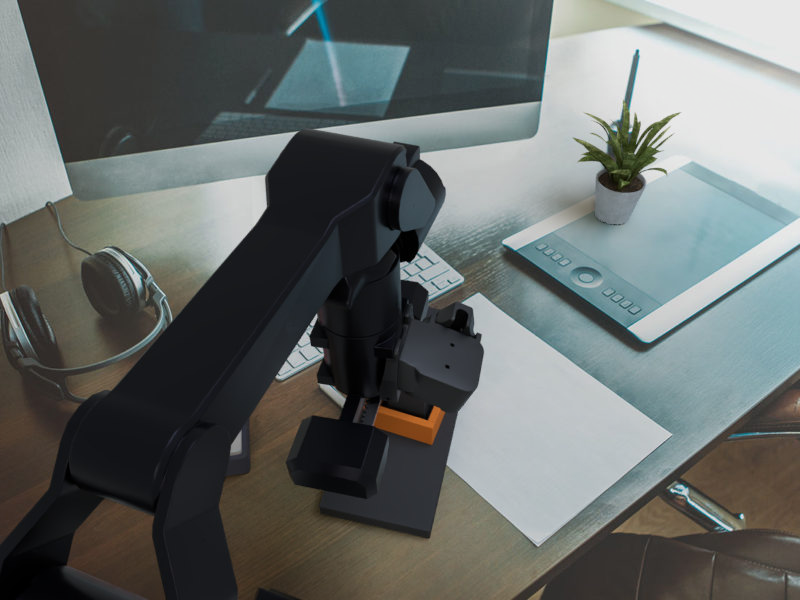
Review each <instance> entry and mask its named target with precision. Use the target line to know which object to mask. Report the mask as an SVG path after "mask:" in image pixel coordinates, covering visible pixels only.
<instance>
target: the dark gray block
mask: <svg viewBox="0 0 800 600" xmlns="http://www.w3.org/2000/svg"><path fill="white" fill-rule="evenodd" d="M440 309H441V308H435V307H432V306H429V307H428V311H427V314H426V317H430V316H431V314H433V315H436V314H437V313H438V311H439V310H440ZM431 408H432V405H431V404H428V403H426V402H423V401H420V400H418V399H415V398H413V397H410V396H408V395H407V394H406V393H405V392H404V391H400V396H399V400H398V403H396V402H391V401H388V409H392V410H395V411H398V412H402V413H405V414H408V415H411V416H415V417H418V418H421V419H425V420H427V418H428V416H429V413H430V410H431Z"/></svg>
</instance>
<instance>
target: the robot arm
mask: <svg viewBox="0 0 800 600" xmlns="http://www.w3.org/2000/svg"><path fill="white" fill-rule="evenodd" d="M264 185H265V200H266V208H265V209H264V211H263V212H262V214H261V216H260V217H259V219H258V220H257V222H256V223H255V225H253V226H252V228H251V229H250V230H249V231H248V233H247V234H246V235H245V236H244V237H243V239H241V240H240V242H239V243H238V244H237V245H236V246H235V248H234V249H233V250H232V251H231V252H230V253H229V254H228V255H227V256H226V258H225V259H224V260H223V261H222V262H221V264H220V265H219V266H218V267H217V268H216V270H215V271H214V272H213V273H212V274H211V275H210V276H209V278H208V279H207V280H206V281H205V282H204V283H203V284H202V286H200V288H199V289H198V290H197V291H196V292H195V294H194V295H193V296H192V297H191V298H190V299H189V300H188V301H187V303H186V304H185V305H184V306H183V307H182V309H180V311H179V312H178V313H177V314H176V316H175V317H173V319H172V320H171V321H170V323H168V324H167V326H166V327H165V328H164V329H163V330H162V331H161V332H160V334H159V335H158V336H157V337H156V339H154V341H153V342H151V344H150V345H149V346H148V348H147V349H146V350H145V351H144V352H143V353H142V354H141V356H140V357H139V358H138V359H137V361H135V363H134V364H133V365H132V366H131V367H130V369H129V370H128V371H127V372H126V373H125V374H124V375H123V377H122V378H121V379H120V380H119V381H118V382H117V384H116V385H115V386H114V387H113V388H112V389H111V390H109V389H104V390H101V391H98V392H95V393H93V394H91V395H90V396H89V397H87V398H86V399H85V400H84V401H83V402H82V403H80V404H79V405H78V406H77V408H76V410H75V411H74V412H73V414H72V415H71V416H70V418H69V419H68V421H67V422H66V425H65V428H64V430H63V433H62V436H61V438H60V441H59V444H58V449H57V454H56V459H55V463H54V466H53V470H52V475H51V479H50V482H49V487H48V489H47V490H46V491H45V492H44V493H43V494H42V496H41V497H40V498H39V499H38V500H37V502H36V503H34V505H33V506H32V507H31V508H30V510H29V511H28V512H26V514H25V515H24V516H23V517H22V519H21V520H20V521H19V522H18V523H17V525H16V526H14V528H13V529H12V530H11V532H9V534H8V535H7V536H6V537H5V538H4V539H3V541H2V542H1V543H0V600H150V599H149V598H146V597H144V596H142V595H139V594H137V593H135V592H133V591H130V590H127V589H125V588H122V587H120V586H118V585H115V584H113V583H111V582H109V581H105V580H103V579H101V578H98V577H96V576H94V575H91V574H89V573H86V572H84V571H81V570H79V569H77V568H74V567H72V566H69V565H68V562H69V559H70V558H69V557H70V553H71V549H72V544H73V541H74V536H75V534H76V531H77V530H78V529H79V528H80V527H81V526H82V525H83V524H84V522H86V520H87V519H88V518H89V517H90V516H91V514H93V512H94V511H95V510H96V509H97V508H98V507H99V506H100V505H101V503H102V502H103V501H104V500H108V501H112V502H114V503H116V504H120V505H121V506H125V507H127V508H131V509H133V510H135V511H138V512H140V513H144V514H146V515H149V516H152V517H153V521H152V525H151V538H152V543H153V548H154V553H155V556H156V557H155V558H156V562H157V565H158V571H159V576H160V578H161V585H162V589H163V595H164V598H165V600H239V588H238V583H237V579H236V575H235V570H234V566H233V562H232V557H231V553H230V550H229V545H228V540H227V536H226V532H225V527H224V523H223V519H222V513H221V510H220V503H221V497H222V495H223V489H224V484H225V480H226V477H227V476H226V473H227V469H228V465H229V459H230V452H231V445H232V443H233V442H234V440H235V439H236V437H237V436H238V434H239V433H240V431H241V429H242V428H243V426H244V425H245V423H246V422H247V420H248V419H249V420H250V417H251V416H252V414H253V413H254V411H255V410H256V408H257V407H258V405H259V403H260V402H261V401H262V399H263V397H264V396H265V394H266V393H267V391H268V389H269V388H270V387H271V385H272V383H273V382H274V380H275V379H276V378H277V376H278V374H279V373H280V371H281V369H282V368H283V367H284V365H285V364H286V362H287V360H288V359H289V357H290V356H291V354H292V353H293V351H294V350H295V348H296V347H297V345H298V344H299V342H300V340H301V339H302V337H303V336H304V335H305V333H306V331H307V329H308V328H309V326H310V325H311V324H312V322H313V320H314V319H315V318H316V320H315V321H314V325H313V327H312V329H311V332H310V334H309V336H308V337H309V342H310V347H312V348H313V347H314V348H318V349H319V348H320V349H322V352H323V358H322V359H321V363H320V365H319V368H318V369H317V372H316V380H317V384H319V385H325V386H331V387H335V389H336V391H338V392H339V393H341V394H342V395H345V396H346V398H345V400H344V403H343V405H342V409H341V412H340V415H339V417H338V419H337V418H331V417H328V416H327V417H326V416H322V415H316V414H315V415H314V414H312V415H310V416H307V417H306V418H304V419H301V422H300V424H299V426H298V429H297V432H296V434H295V437H294V439H293V442H292V444H291V447H290V449H289V452H288V455H287V457H286V459H285V464H286V469H287V473H288V475H289V478H290V479H291V482H292V483H293V485H294V486H298V487H303V488H308V489H313V490H316V491H317V490H319V491H323V492H324V491H327V492H332V493H337V494H342V495H347V496H352V497H357V498H362V499H369V498H371V497H372V496H374V495H376V494H378V490H379V486H380V483H381V479H382V475H383V472H384V468H385V464H386V461H387V457H388V453H389V450H388V447H389V439H388V435H386V434H385V433H383V432H382V431H381V430H379V429H378V428H376V427H375V426H374V423H375V419H376V416H377V413H378V409H379V406H380V403H381V400H385V401H391V402H396V403H398V400H399V396H400V391H404V392H405V393H406V394H407V395H408V396H410V397H413V398H415V399H418V400H420V401H423V402H426V403H428V404H431V405H433V406H436V407H438V408H440V409H441V410H442V411H444V412H447V413H457V412H458V413H459V412H460V411H461V409H462V408H463V407H464V406H465V404H466V403H467V402H468V400H469V399H470V398H471V397H472V395H473V394H474V392H475V391H476V390H477V388H478V387H479V382H480V379H481V378H480V377H481V374H482V373H481V372H482V367H483V360H484V355H485V349H484V346H483V344H482V336H483V334H482V333H480V332H476V333H475V331H474V330H475V329H474V328H475V315H474V314H475V313H474V308H473V307H472V306H469V305H466V304H464V303H462V302H459V301H455V302H453V303H451V304H449V305H446V306H445V307H442V308H439V309H440V310H439V311H438V313H437V314H436V315H433V314H431V316H430V317H426V314H427V311H428V307H430V306H429V305H430V303H429V301H430V300H429V299H430V298H429V297H430V296H429V295H430V291H429V290H428V289H427V288H425V287H424V286H423V285H422V284H421V283H420V282H418V281H414V280H406V279H401V276H402V275H401V264H403V263H412V262H413V261H414V260H415V259H416V257H417V256H418V254H419V251H420V250H421V248H422V245H423V243H424V242H425V240H426V238H427V236H428V235H429V232H430V230H431V228H432V226H433V224H434V223H435V222H436V221H435V220H436V219H437V217H438V215H439V213H440V211H441V209H442V208H443V205H444V203H445V200H446V196H447V189H446V186H445V185H444V183H443V180H442V179H441V177H440V175H439V174H438V172H437V171H436V170H435V168H433V167H432V166H431V165H430V164H429V163H427V162H426V161H424V160H423V159H421V146H420V145H416V144H411V143H406V142H400V141H393V142H387V141H382V140H376V139H371V138H365V137H359V136H354V135H348V134H343V133H337V132H332V131H326V130H320V129H315V128H309V127H306V128H301V129H300V130H299V131H297V132H296V133H295V134H294V135H293V136H292V137H291V138H290V139H289V140H288V142H287V143H286V145H285V146H284V148H283V149H282V151H281V152H280V153H279V155H278V157H277V158H276V160H275V161H274V162H273V164H272V165H271V167H270V168H269V170H268V171H267V173H266V174H265V176H264ZM316 316H317V317H316ZM366 398H367V399H368V400H366ZM365 400H366V404H365V405H364V403H365ZM363 406H364V407H365V408H366V409H363ZM362 409H363V413H362V414H361V412H362ZM360 415H362V417H363V418H360ZM359 418H360V422H359ZM358 422H359V423H358ZM253 600H302V598H299V597H296V596H294V595H291V594H289V593H285V592H284V591H281V590H278V589H276V588H273V587H270V588H269V589H266V588H263V587H260V586H258V587H257V589H256V591H255V594H254V597H253Z"/></svg>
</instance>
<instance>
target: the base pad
mask: <svg viewBox="0 0 800 600" xmlns="http://www.w3.org/2000/svg"><path fill="white" fill-rule="evenodd" d="M366 400H368V399H367V398H366ZM366 400H365V403H364V405H365V404H366ZM363 409H366V408H365V407H364V406H363ZM363 409H362V412H361V414H362V413H363ZM458 415H459V411H458V412H457V413H447V412H444V411H442V410H441V409H440V408H438V407H436V406H433V405H432V408H431V410H430V413H429V416H428V418H427V420H425V419H421V418H418V417H415V416H411V415H408V414H405V413H402V412H398V411H395V410H392V409H388V401H385V400H381V403H380V406H379V409H378V413H377V416H376V419H375V423H374V426H375V427H376V428H378V429H379V430H381V431H382V432H383V433H385V434H386V435H388V439H389V447H388V450H389V453H388V457H387V461H386V464H385V468H384V472H383V475H382V479H381V483H380V486H379V490H378V494H376V495H374V496H372V497H371V498H369V499H362V498H357V497H352V496H347V495H342V494H337V493H332V492H327V491H323V494H322V496H321V499H320V502H319V505H318V509H319V513H320V515H323V516H329V517H333V518H337V519H342V520H346V521H350V522H354V523H359V524H363V525H367V526H372V527H377V528H381V529H386V530H390V531H394V532H398V533H403V534H407V535H411V536H416V537H421V538H425V539H430V538H431V535H432V531H433V526H434V522H435V516H436V514H437V507H438V503H439V499H440V495H441V491H442V485H443V482H444V477H445V472H446V468H447V463H448V458H449V455H450V450H451V445H452V441H453V436H454V432H455V427H456V423H457V420H458ZM360 418H363V417H362V415H360ZM360 418H359V422H360ZM359 422H358V423H359Z"/></svg>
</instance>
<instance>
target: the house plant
mask: <svg viewBox="0 0 800 600" xmlns="http://www.w3.org/2000/svg"><path fill="white" fill-rule="evenodd" d="M622 107H623V108H622V109H623V111H622V112H623V117H622V118H623V119H622V127H620V126H619V125H618V124H617V123H616V122H615V121H613V120H612V119H610V121H611V122H612V123H613V124H614V125H615V126H616V128H617V132H616V134H615V131H614V130H613V129H612V128H611V126H610V124H609V123H607V122H606V121H605V120H604V119H602V118H600V117H598V116H595V115H594V114H590V113H588V112H584V111H582V113H583V114H585V115H587V116H589V117H591V118H592V119H594V120H591V121H592V122H594V123H596V124H598V125H600V126H601V128H602V129H603V130H604V132H605V133H606V136H607V138H608V140H605V139H604V138H603V137H602V136H600V135H599V134H597V133H595V132H589V135H593V136H596V137H598V138H600V139H601V140H602V141H603V142H605V144H607V146H608V147H609V148H610V150H611V152H612V154H613V156H614V158H615V160H614V159H613V157H611V156H610V155H609V154H608V153H607V152H605V151H604V150H602V149H600V148H599V147H596V146H595V145H593V144H592V143H590V142H588V141H586V140H584V139H580V138H576V137H572V139H573V140H574V141H575V142H576V143H578V144H580V145H582V146H583V147H584V148H585V149H586V152H583V153H581V154H580V156H583V157H581V158H580V159H579V160H578V161H577V163H579V162H580V163H581V162H582V163H583V162H585V163H586V162H597V163H600V164H601V165H602V166H603V168H601V169H600V170H599V171H598V172H597V173H596V175H595V185H594V186H595V189H594V216H595V217H596V219H597V218H598V221H600V220H601V221H600V222H602V221H603V222H606V223H607V224H606V223H605V224H606V225H610V224H612V225H611V226H614V225H613V224H617V225H616V226H619V225H618V224H621V225H624V224H626V223H627V222H628V221H629V220H630V217H631V216H632V214H633V213H634V210H635V208H636V206H637V205H638V202H639V200H640V199H641V197H642V195H643V193H644V191H645V189H646V187H647V184H648V183H647V179H646V178H645V176H644V174H642V173H645V172H646V171H657V172H661V173H664V174H665V175H666V177H667V178H668V172H667V170H666V169H665V168H662V167H651V168H647V169H645V168H646V167H648V166H650V165H651V164H653V163H655V162H656V161H657V160H658V158H657V157H655V155H656V154H658V153H661V152H665V150H659V149H658V148H660V147H661V146H662V145H664V143H665V142H666V141H668V140H669V139H670V138H671V137H672V136H673V135H674V133H672V134H671V135H669V136H667V137H666V138H664V139H663V140H662V141H661V142H659V143H658V144H657V145H656V146H655V147H652V146H654V144H656V143H657V142H658V141H659V140H660V139H661V138H662V137H663V136H664V135H665V133H667V131H668V130H669V129H670V128H671V127H672V125H669V126H668V127H667V128H666V129H664V130H663V131H662V132H660V131H661V130H662V129H663V128H664V127H666V125H667V124H669V122H671V120H673V118H675V117H677V116H679V115H680V114H682V112H680V111H679V112H676V113H672V114H669V115H667V116H666V117H663V118H662V119H661V120H659V121H655V122H653V123H651V124H650V125H648V127H646V128H645V130H644V131H643V132H642V133H641V135H640V131H641V127H642V123H641V121H639V120H638V115H637V113H636V112H634V115H633V116H634V117H633V125H632V128H631V129H632V130H631V135H630V138H629V134H630V121H631V113H630V109H629V108H628V105H627V103H626V101H625V100H624V99H622ZM658 133H659V134H658ZM657 134H658V136H657ZM639 135H640V137H639ZM638 138H639V139H638ZM643 139H644V140H643ZM653 139H654V140H653ZM642 140H643V141H642ZM641 142H642V143H641ZM639 145H640V146H639ZM637 149H638V150H637ZM635 152H636V153H635ZM643 169H644V170H643ZM603 222H602V223H603ZM623 223H624V224H623Z"/></svg>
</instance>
